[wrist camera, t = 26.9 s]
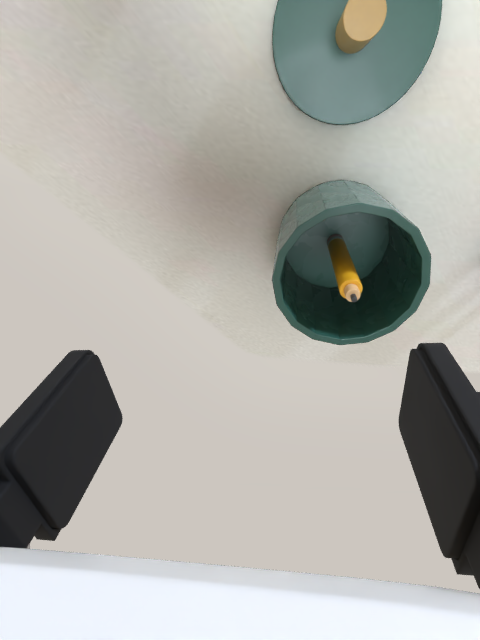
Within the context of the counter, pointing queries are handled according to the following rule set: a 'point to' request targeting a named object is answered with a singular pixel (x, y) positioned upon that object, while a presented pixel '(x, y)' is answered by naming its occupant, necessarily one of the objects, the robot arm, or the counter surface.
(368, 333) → the tin
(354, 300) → the pencil
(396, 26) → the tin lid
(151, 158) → the counter surface
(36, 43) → the counter surface
